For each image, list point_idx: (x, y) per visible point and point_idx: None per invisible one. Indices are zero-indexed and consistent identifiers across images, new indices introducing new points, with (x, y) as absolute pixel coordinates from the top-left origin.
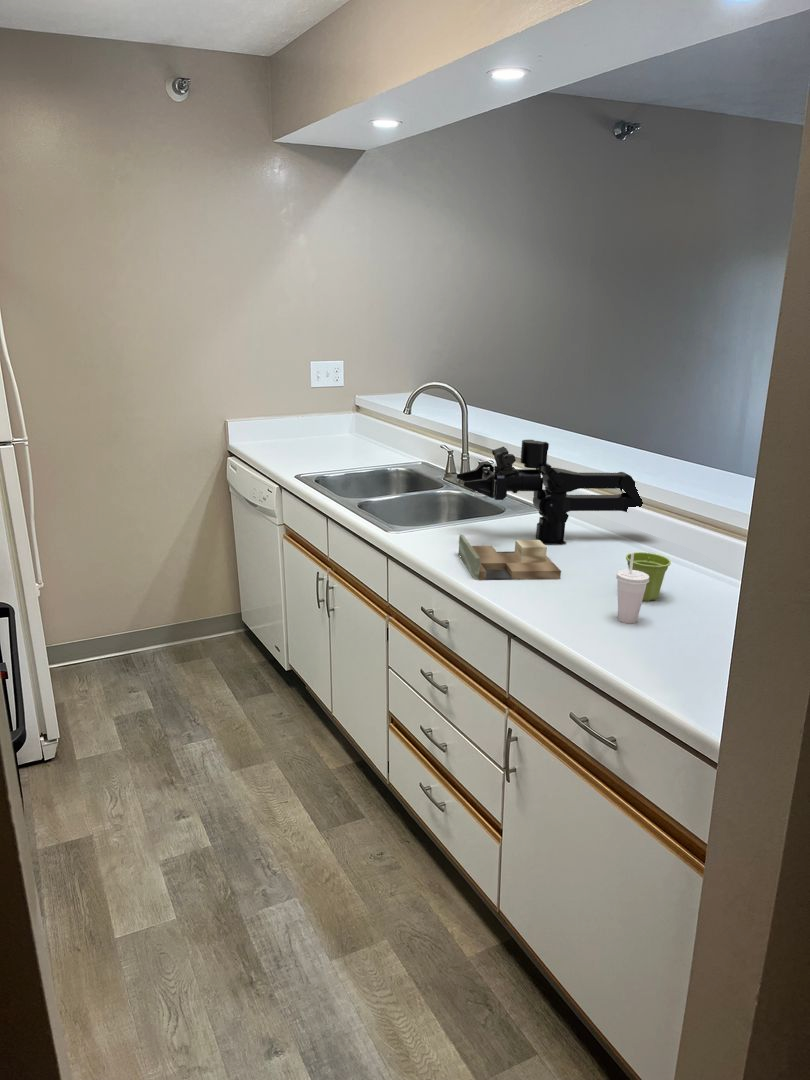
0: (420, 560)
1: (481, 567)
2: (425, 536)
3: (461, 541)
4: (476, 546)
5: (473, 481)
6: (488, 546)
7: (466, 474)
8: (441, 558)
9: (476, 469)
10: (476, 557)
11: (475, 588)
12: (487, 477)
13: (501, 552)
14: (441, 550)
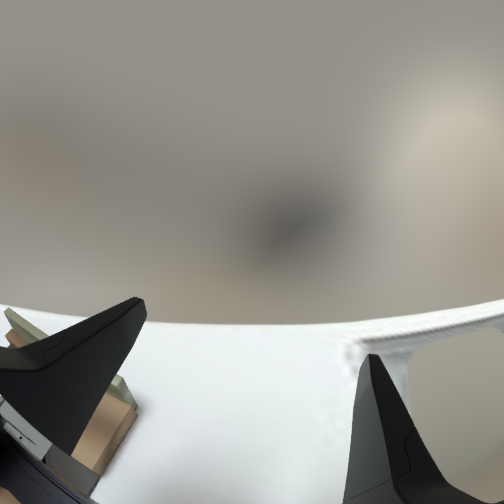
0: (147, 323)
1: (17, 342)
2: (315, 404)
3: None
4: (107, 431)
5: (90, 319)
6: (89, 456)
7: (372, 413)
8: (133, 359)
9: (422, 488)
10: (9, 310)
11: None
12: (13, 359)
13: (80, 489)
14: (183, 388)
